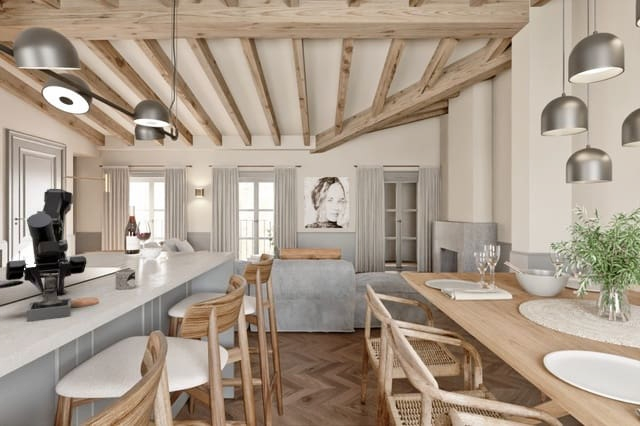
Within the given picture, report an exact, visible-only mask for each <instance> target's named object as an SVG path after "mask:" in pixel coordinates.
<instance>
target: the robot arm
mask: <svg viewBox="0 0 640 426" xmlns="http://www.w3.org/2000/svg"><path fill="white" fill-rule="evenodd" d="M43 196H44V197H43V199H44V200H43V202H44V205H43V207H42V208H43V209H42V210H37V212H36V213H35V214H34V213H33V214H32V215H30V216H29V217H28V218H27V219H26V223H27V227H28V231H29V236H30V237H31V241H32V247H33V249H32V250H33V259H34V261H33V262H26V260H24V259H23V260H10V261H7V262H6V266H5V267H6V268H5V280H6V281H16V280H21V279H22V278H23V280H24V281H26V282H27V281H28V282H30V283H32V285H34V286H35V288H36V289H38V290H39V292H40V293H41V295H42V297H44V282H43V281H42V279H45V278H46V277H48V276H50V275H49V274H50V273H51V274H52V276H54V277H56V279H57V288H58V289H57V296H59V295H60V296H61V295H66V293H67V290H66V289H65V279H66V278H68V277H70V276H72V275H78V274H79V275H80V274H83V273H85V269H86V266H87V263H88V261H87V258H86V257H85V256H84V255H79V256H77V255H76V256H70V257H69V259H68V257H67V254H66V252H67V251H68V249H69V246H68V245H69V244H68V240H67V239H64V234H65V223H66V215H67V214H68V213H70V211H71V210H72V205H73V204H74V194H73V193H72V192H70V191H67V190H65V189H63V188H48V189H46V191H45V192H44V195H43Z"/></svg>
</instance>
